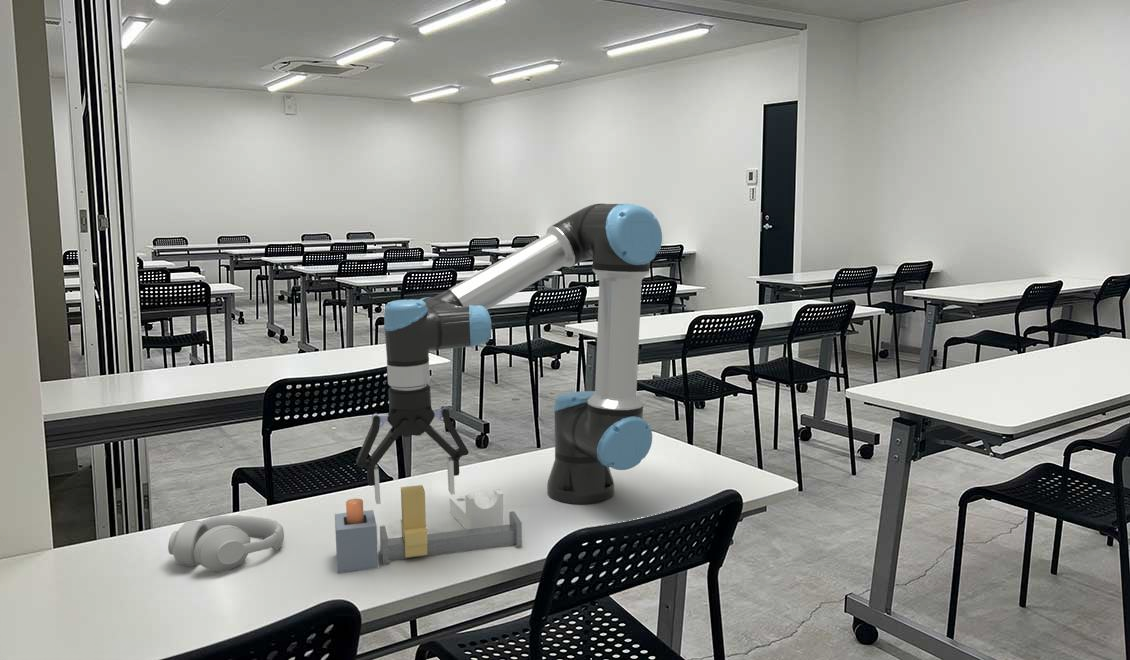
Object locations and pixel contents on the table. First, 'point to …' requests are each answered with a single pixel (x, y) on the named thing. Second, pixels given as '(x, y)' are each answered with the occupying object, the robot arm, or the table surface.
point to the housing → (356, 543)
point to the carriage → (414, 520)
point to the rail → (457, 540)
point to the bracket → (478, 510)
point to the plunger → (354, 511)
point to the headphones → (223, 541)
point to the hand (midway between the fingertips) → (415, 496)
